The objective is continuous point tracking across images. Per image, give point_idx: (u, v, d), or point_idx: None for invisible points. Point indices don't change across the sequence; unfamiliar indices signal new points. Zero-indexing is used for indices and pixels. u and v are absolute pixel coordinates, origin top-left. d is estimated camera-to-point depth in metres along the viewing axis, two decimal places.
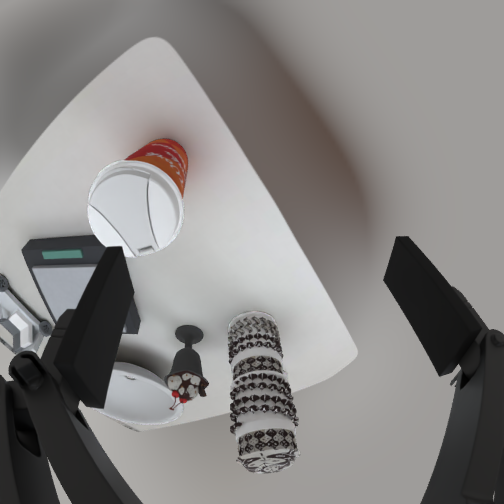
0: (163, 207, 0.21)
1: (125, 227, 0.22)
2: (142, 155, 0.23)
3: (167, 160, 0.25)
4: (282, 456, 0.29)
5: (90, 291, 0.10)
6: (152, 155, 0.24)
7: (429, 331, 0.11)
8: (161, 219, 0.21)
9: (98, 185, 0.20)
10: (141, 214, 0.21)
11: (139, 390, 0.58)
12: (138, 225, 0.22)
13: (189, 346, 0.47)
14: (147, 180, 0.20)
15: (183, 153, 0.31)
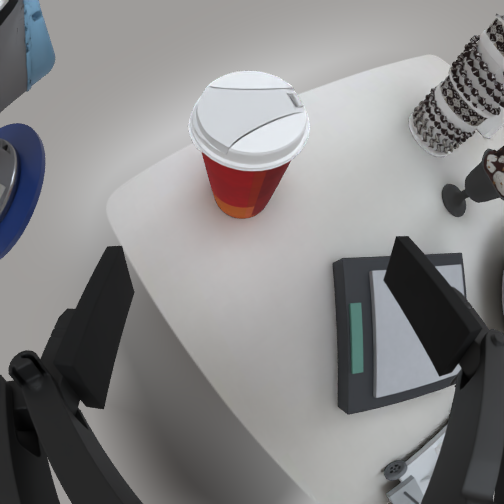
0: (240, 77, 0.18)
1: (265, 114, 0.18)
2: None
3: None
4: None
5: (90, 291, 0.10)
6: None
7: (428, 331, 0.11)
8: (254, 80, 0.18)
9: (207, 134, 0.17)
10: (247, 95, 0.18)
11: None
12: (262, 100, 0.18)
13: (464, 190, 0.32)
14: (208, 88, 0.18)
15: None
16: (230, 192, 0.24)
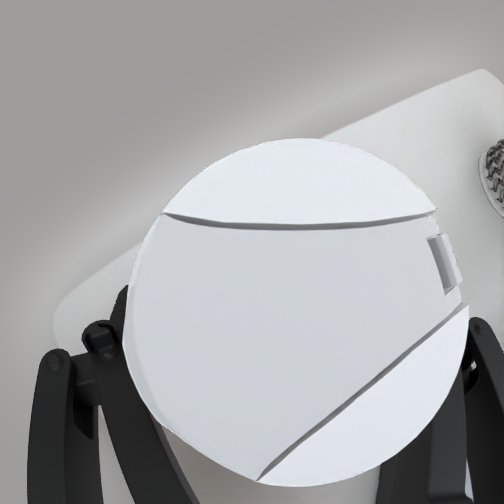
0: (280, 169, 0.06)
1: (370, 339, 0.05)
2: None
3: None
4: None
5: None
6: None
7: None
8: (329, 183, 0.06)
9: (180, 432, 0.05)
10: (312, 258, 0.05)
11: None
12: (361, 278, 0.05)
13: None
14: (168, 220, 0.05)
15: None
16: None
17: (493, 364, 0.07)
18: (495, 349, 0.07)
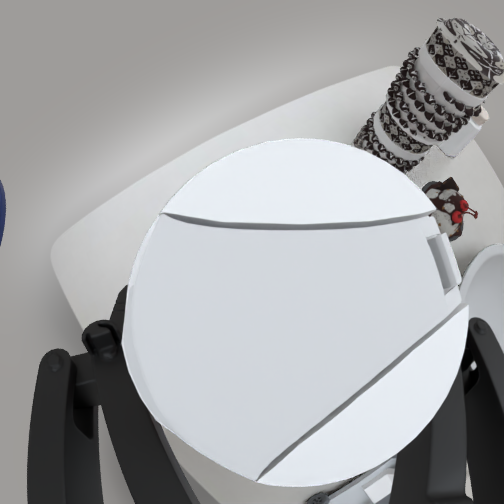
0: (279, 169, 0.06)
1: (369, 339, 0.05)
2: None
3: None
4: (449, 23, 0.14)
5: None
6: None
7: None
8: (328, 182, 0.06)
9: (180, 432, 0.05)
10: (312, 258, 0.05)
11: (495, 318, 0.34)
12: (361, 278, 0.05)
13: None
14: (167, 220, 0.05)
15: None
16: None
17: (493, 364, 0.07)
18: (495, 349, 0.07)
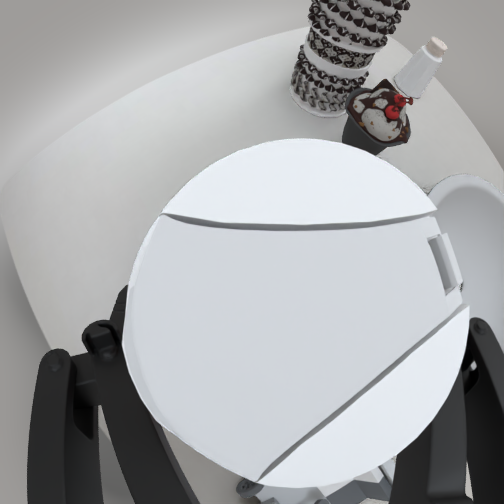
0: (280, 170, 0.06)
1: (370, 339, 0.05)
2: None
3: None
4: None
5: None
6: None
7: None
8: (329, 183, 0.06)
9: (180, 433, 0.05)
10: (313, 259, 0.05)
11: (479, 271, 0.30)
12: (361, 279, 0.05)
13: None
14: (167, 221, 0.05)
15: None
16: None
17: (493, 364, 0.07)
18: (495, 349, 0.07)
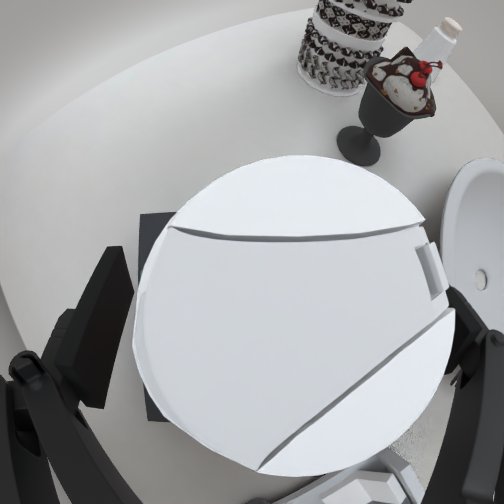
0: (278, 185, 0.06)
1: (360, 340, 0.06)
2: None
3: None
4: None
5: (90, 291, 0.10)
6: None
7: None
8: (323, 197, 0.06)
9: None
10: (307, 268, 0.06)
11: None
12: (352, 285, 0.06)
13: None
14: (175, 233, 0.06)
15: None
16: None
17: None
18: None
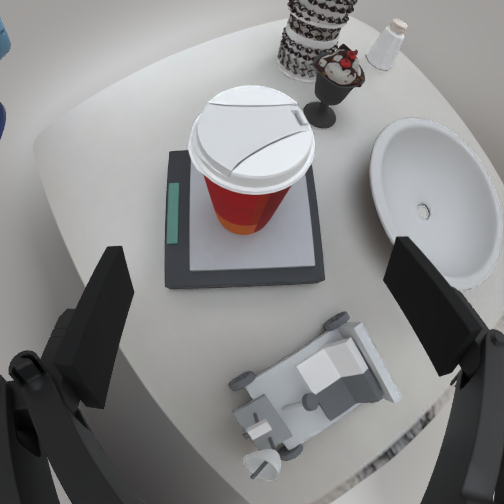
0: (241, 93, 0.18)
1: (268, 133, 0.17)
2: None
3: None
4: None
5: (90, 291, 0.10)
6: None
7: (428, 331, 0.11)
8: (256, 96, 0.18)
9: (208, 156, 0.17)
10: (250, 112, 0.17)
11: (445, 203, 0.37)
12: (265, 117, 0.17)
13: None
14: (209, 104, 0.17)
15: None
16: (232, 211, 0.23)
17: None
18: None
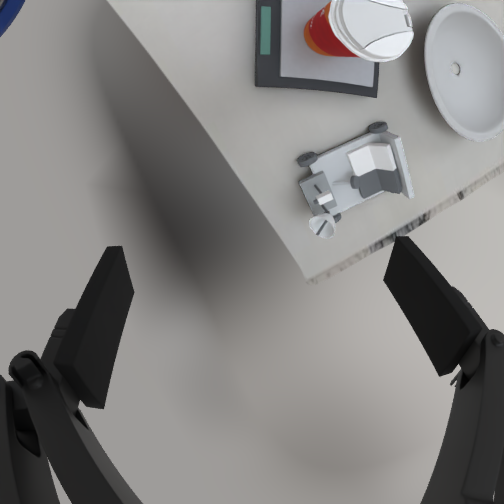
0: None
1: (387, 27, 0.18)
2: (323, 15, 0.21)
3: (329, 2, 0.20)
4: None
5: (90, 291, 0.10)
6: (324, 9, 0.21)
7: (428, 331, 0.11)
8: None
9: (349, 33, 0.18)
10: (377, 8, 0.17)
11: (474, 70, 0.33)
12: (387, 15, 0.17)
13: None
14: None
15: None
16: (336, 52, 0.25)
17: None
18: None
